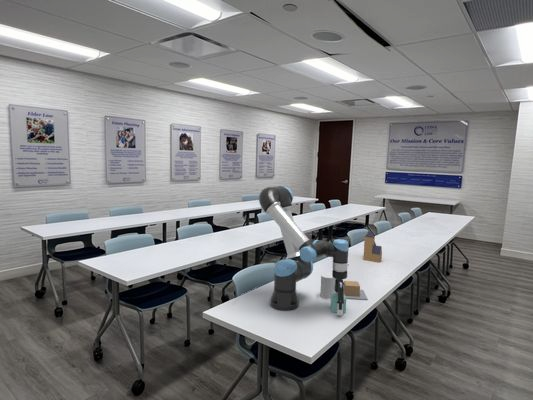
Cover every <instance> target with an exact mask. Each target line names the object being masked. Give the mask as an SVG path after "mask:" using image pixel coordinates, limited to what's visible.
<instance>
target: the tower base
mask: <svg viewBox="0 0 533 400" xmlns="http://www.w3.org/2000/svg"><path fill="white" fill-rule="evenodd" d="M343 282H344V295H345V298H346V300H356V301H357V300H360V301H368V300H369V299H368V297H367V295H366V293H365V290H364V289H361V285H360V282H358V281H356V280H354V281H353V280H343Z"/></svg>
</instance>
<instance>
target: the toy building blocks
mask: <svg viewBox="0 0 533 400" xmlns="http://www.w3.org/2000/svg"><path fill="white" fill-rule="evenodd" d="M375 238H376V237H375V235H374V233H373V231H372V229H369V230H368V231H367V233H366V234H365V236H364V242H363V243H364V244H363V258H362V259H363V261H366V262H372V263H377V264H378V263H379V264H380V263H381V262H382V258H383V257H382V256H383V251H382V249H383V248H382V245H377V243H376V241H375Z"/></svg>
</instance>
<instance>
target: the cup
mask: <svg viewBox="0 0 533 400" xmlns="http://www.w3.org/2000/svg"><path fill="white" fill-rule="evenodd" d="M335 280H336V278H334V277H333V276H332V273H330V272H324V273H321V275H320V292H319V293H320V294H319V296H320V297H321V298H322V299H329V300H331V294H335V289H334V288H335Z"/></svg>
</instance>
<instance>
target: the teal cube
mask: <svg viewBox="0 0 533 400" xmlns="http://www.w3.org/2000/svg"><path fill="white" fill-rule="evenodd" d="M337 302H338V294H331V299H330V312H331V313H336V314H337ZM346 311H347V299H346V298H345V295H344V304H343V314H346Z"/></svg>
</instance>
